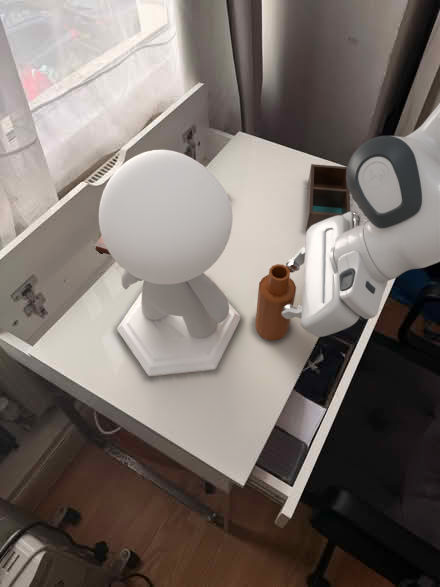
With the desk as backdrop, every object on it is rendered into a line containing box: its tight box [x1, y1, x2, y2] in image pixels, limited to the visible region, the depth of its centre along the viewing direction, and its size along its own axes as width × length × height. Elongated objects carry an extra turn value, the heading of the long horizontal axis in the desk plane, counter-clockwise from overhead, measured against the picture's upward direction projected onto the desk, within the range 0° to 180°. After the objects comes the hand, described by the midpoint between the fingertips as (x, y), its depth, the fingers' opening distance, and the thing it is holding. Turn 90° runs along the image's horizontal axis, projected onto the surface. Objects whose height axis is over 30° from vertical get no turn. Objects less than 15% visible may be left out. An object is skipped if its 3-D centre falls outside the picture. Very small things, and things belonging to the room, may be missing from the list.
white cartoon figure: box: [98, 149, 242, 377], centre depth 67 cm, size 20×23×35 cm
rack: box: [305, 163, 351, 233], centre depth 96 cm, size 8×16×6 cm, turn 171°
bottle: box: [254, 263, 297, 341], centre depth 74 cm, size 6×6×16 cm
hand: (286, 289), depth 72 cm, fingers open, 8 cm apart
